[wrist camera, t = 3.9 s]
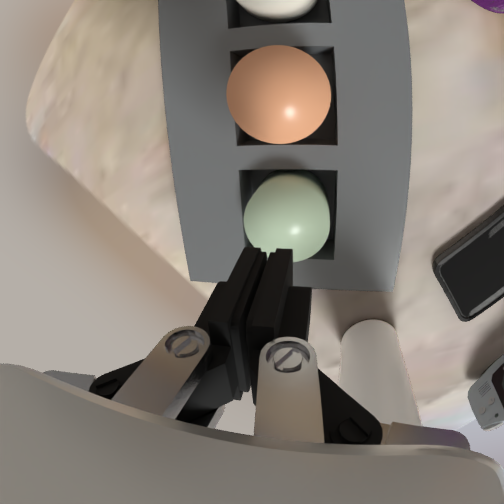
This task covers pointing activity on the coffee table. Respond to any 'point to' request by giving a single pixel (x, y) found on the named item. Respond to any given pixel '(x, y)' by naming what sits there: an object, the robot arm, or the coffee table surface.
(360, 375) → the drinking glass
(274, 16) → the button ivory
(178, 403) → the robot arm
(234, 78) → the button terracotta
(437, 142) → the coffee table surface
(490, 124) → the coffee table surface
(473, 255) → the phone
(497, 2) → the beverage can
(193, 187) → the grey slotted block
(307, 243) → the button sage
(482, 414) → the handheld gaming console
